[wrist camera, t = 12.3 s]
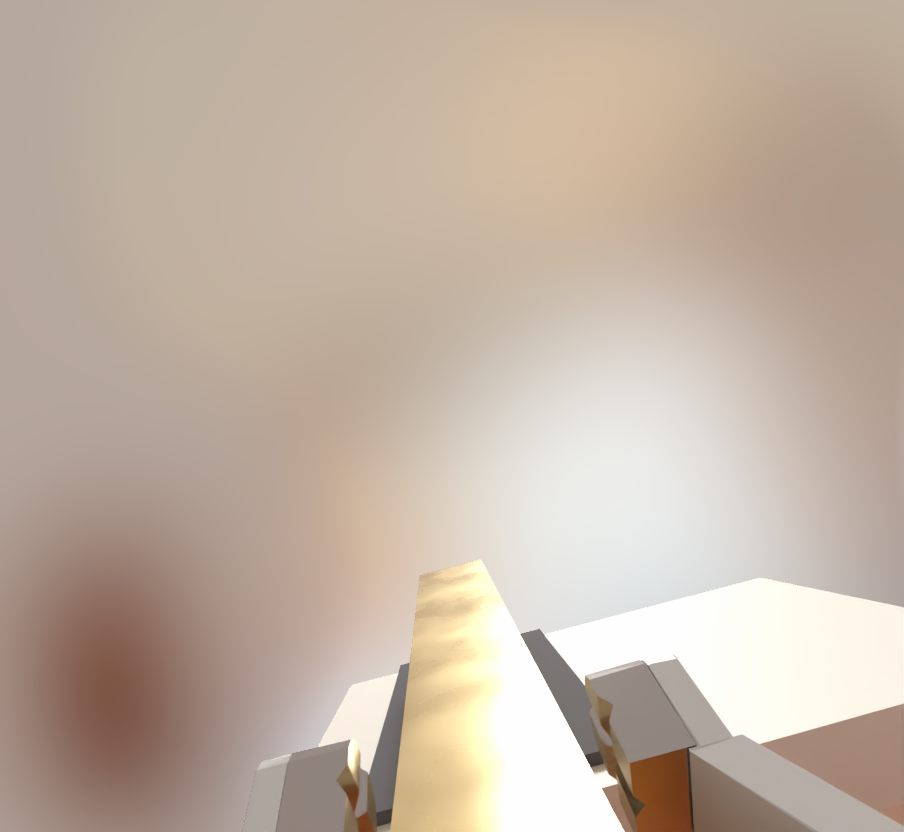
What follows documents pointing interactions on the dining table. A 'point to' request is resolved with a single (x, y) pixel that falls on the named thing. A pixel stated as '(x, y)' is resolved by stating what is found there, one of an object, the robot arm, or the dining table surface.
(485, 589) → the light wood bar
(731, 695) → the white upright block
